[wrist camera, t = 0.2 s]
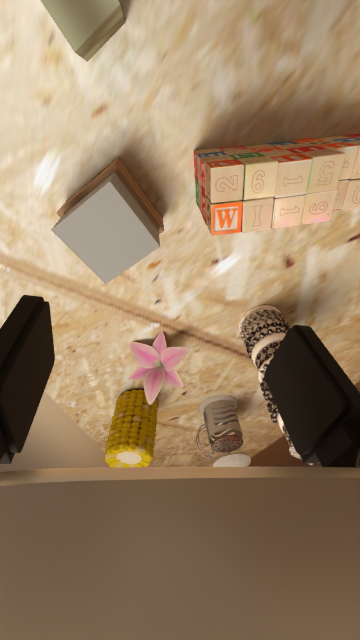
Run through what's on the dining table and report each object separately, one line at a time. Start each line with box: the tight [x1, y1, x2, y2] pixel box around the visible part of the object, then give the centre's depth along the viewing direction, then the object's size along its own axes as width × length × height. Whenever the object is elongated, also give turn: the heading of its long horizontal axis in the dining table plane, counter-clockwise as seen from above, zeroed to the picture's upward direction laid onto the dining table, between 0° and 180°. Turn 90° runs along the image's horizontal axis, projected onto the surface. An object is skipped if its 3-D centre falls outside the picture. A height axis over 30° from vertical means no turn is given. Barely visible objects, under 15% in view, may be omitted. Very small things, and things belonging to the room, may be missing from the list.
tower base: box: [57, 157, 164, 234], centre depth 35 cm, size 9×9×5 cm
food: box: [105, 389, 158, 468], centre depth 57 cm, size 15×12×10 cm
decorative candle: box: [238, 305, 321, 465], centre depth 42 cm, size 9×9×25 cm
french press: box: [196, 395, 251, 467], centre depth 57 cm, size 10×12×25 cm
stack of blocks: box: [194, 134, 360, 236], centre depth 30 cm, size 21×6×12 cm, turn 95°
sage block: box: [41, 0, 125, 62], centre depth 23 cm, size 5×5×6 cm
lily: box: [128, 331, 190, 405], centre depth 51 cm, size 12×12×10 cm
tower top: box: [52, 172, 160, 284], centre depth 31 cm, size 8×8×5 cm
